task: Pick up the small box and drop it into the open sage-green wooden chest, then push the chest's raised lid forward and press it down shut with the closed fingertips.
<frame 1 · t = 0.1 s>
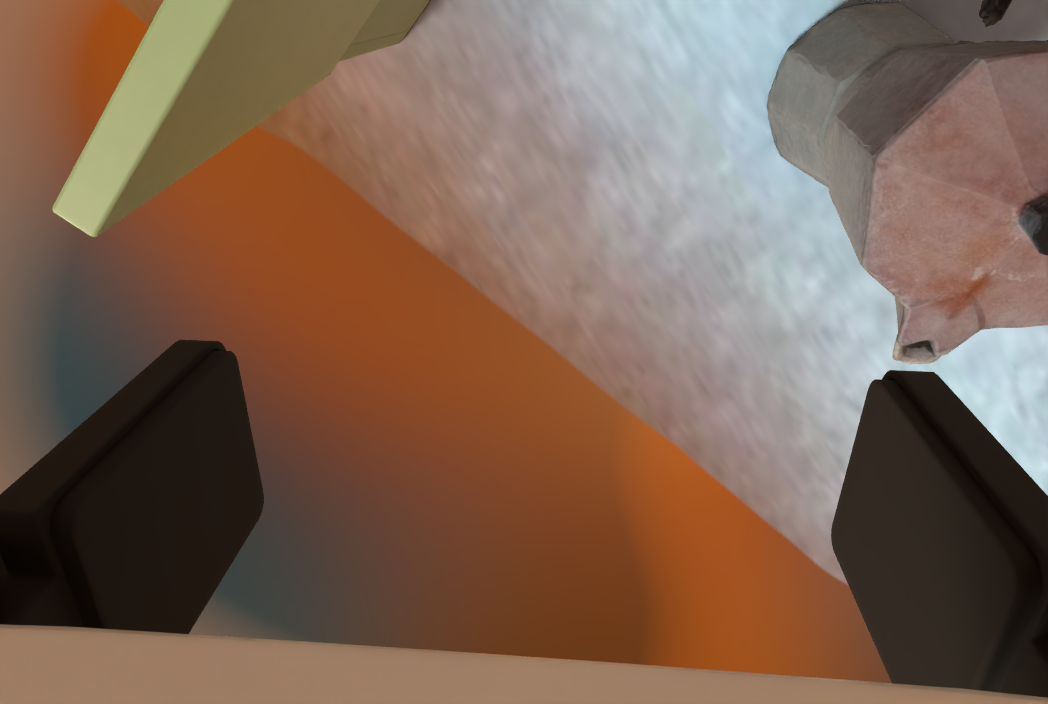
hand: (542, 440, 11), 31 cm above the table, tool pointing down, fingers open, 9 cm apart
moka pot: (851, 88, 37), on the table
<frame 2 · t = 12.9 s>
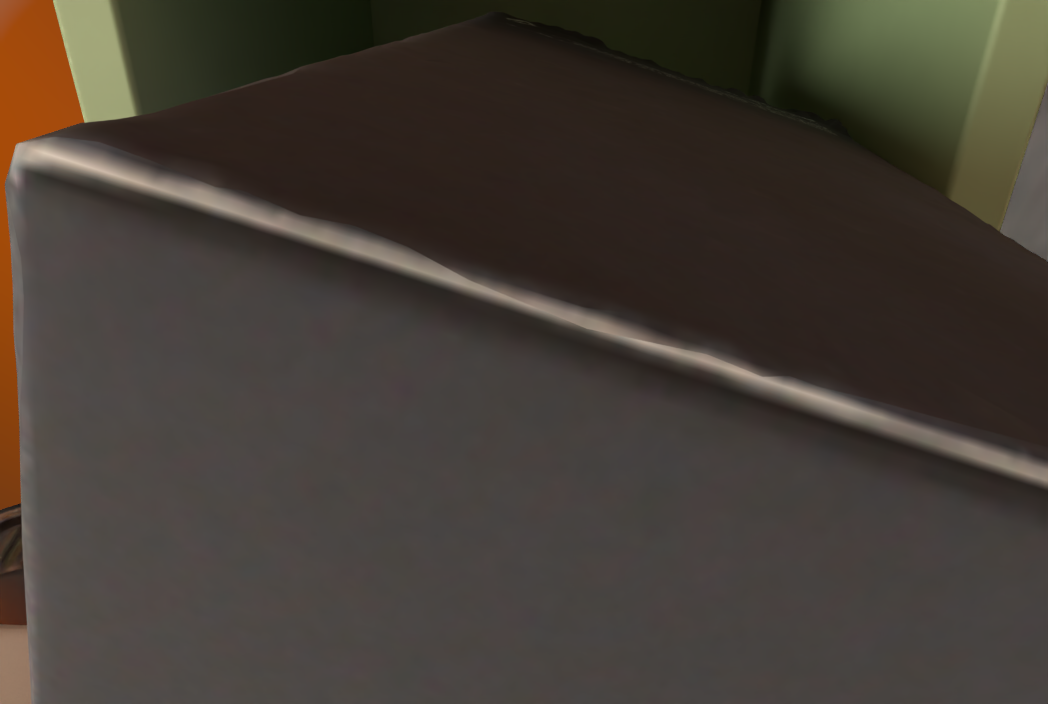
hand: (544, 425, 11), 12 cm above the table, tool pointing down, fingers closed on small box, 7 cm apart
small box: (555, 336, 14), point 9 cm above the table, touching gripper
chest: (556, 213, 22), on the table
when the fingers open (12 cm above the table, at t = 13.1 s): small box drops 8 cm, resting on chest.
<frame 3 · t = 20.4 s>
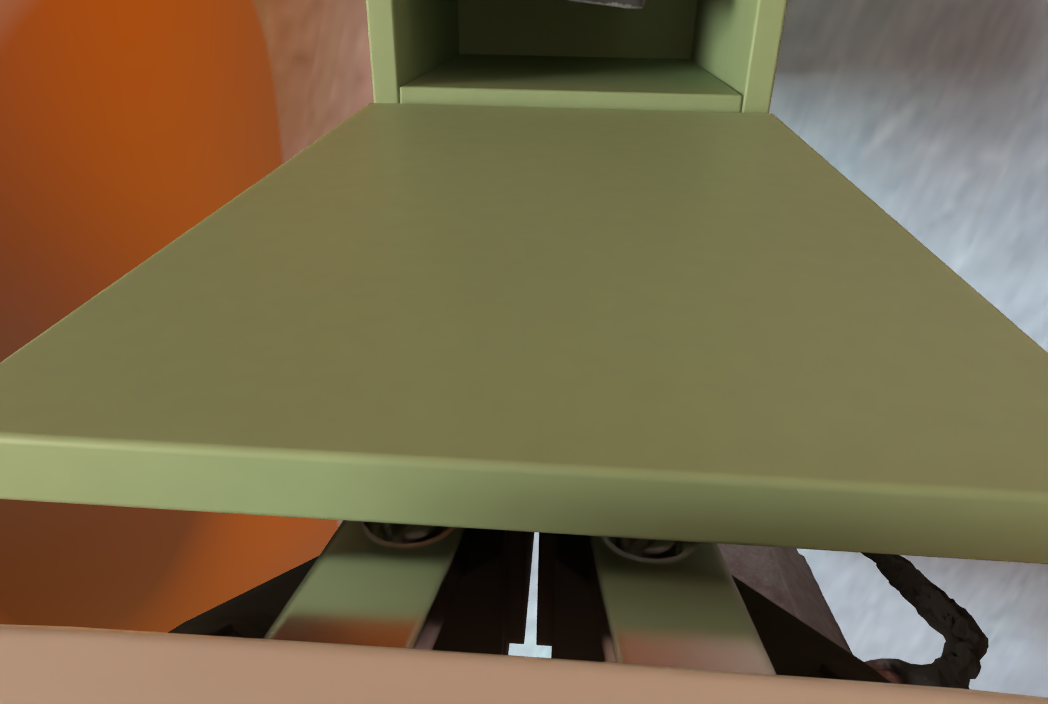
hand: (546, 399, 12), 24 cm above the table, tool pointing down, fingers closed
lid: (557, 211, 14), point 21 cm above the table, hinge at 92.2°
moka pot: (699, 438, 40), on the table
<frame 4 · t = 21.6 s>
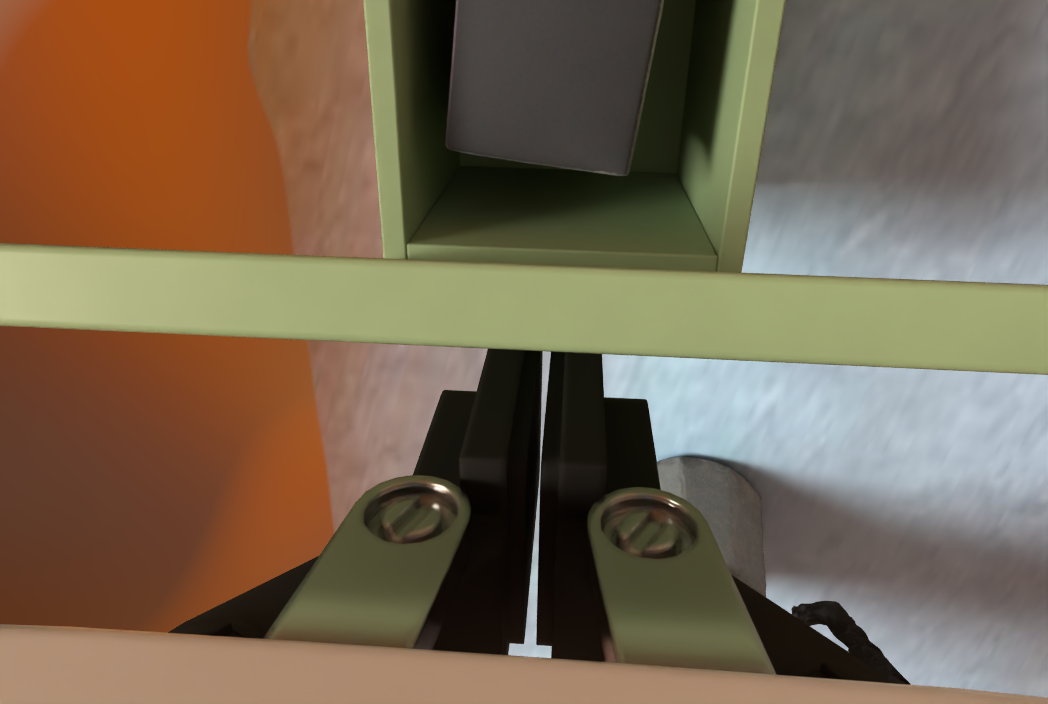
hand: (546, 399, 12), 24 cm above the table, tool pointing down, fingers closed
lid: (553, 285, 15), point 20 cm above the table, hinge at 69.8°
chest: (574, 0, 31), on the table
moka pot: (687, 507, 43), on the table
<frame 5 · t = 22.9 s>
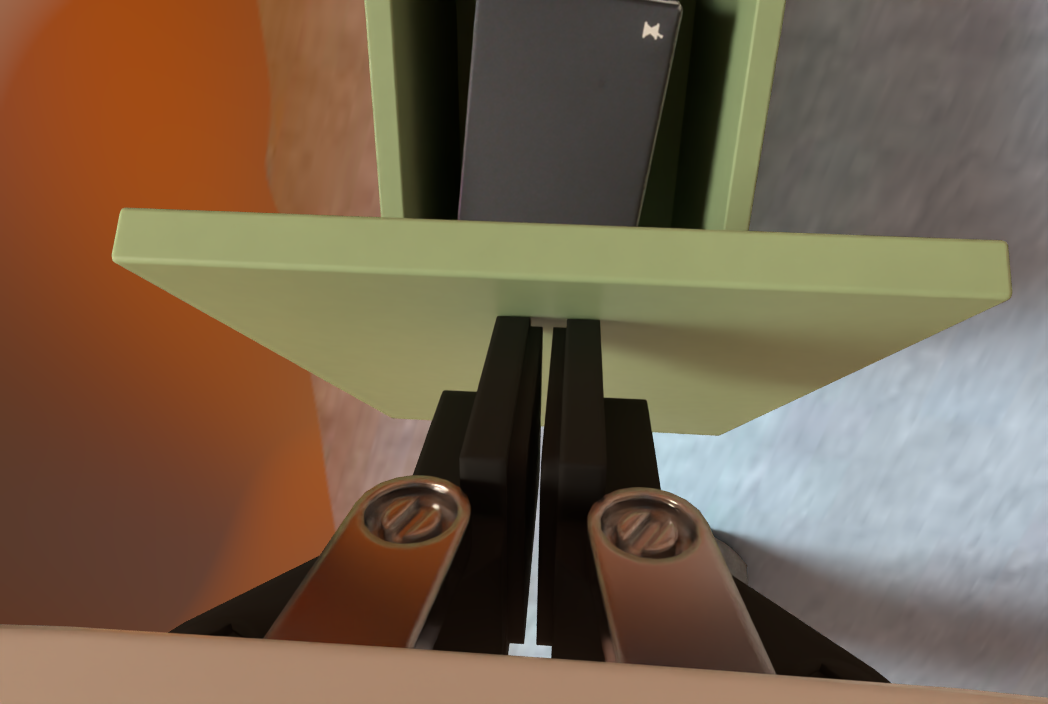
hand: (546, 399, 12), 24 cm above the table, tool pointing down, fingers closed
lid: (551, 371, 17), point 19 cm above the table, hinge at 50.4°, touching gripper
small box: (563, 112, 32), point 1 cm above the table, touching chest
chest: (569, 124, 33), on the table
moka pot: (677, 571, 45), on the table
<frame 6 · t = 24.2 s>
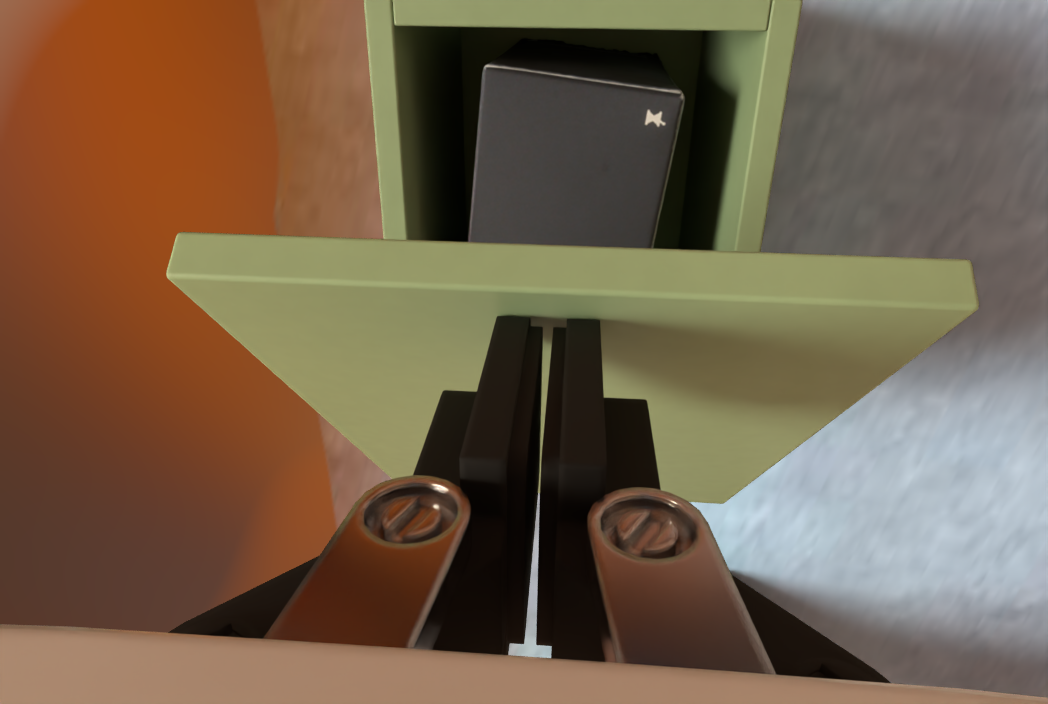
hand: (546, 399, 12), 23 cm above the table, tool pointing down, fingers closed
lid: (558, 421, 18), point 18 cm above the table, hinge at 41.7°, touching gripper
small box: (568, 168, 32), point 1 cm above the table, touching chest
chest: (574, 179, 33), on the table
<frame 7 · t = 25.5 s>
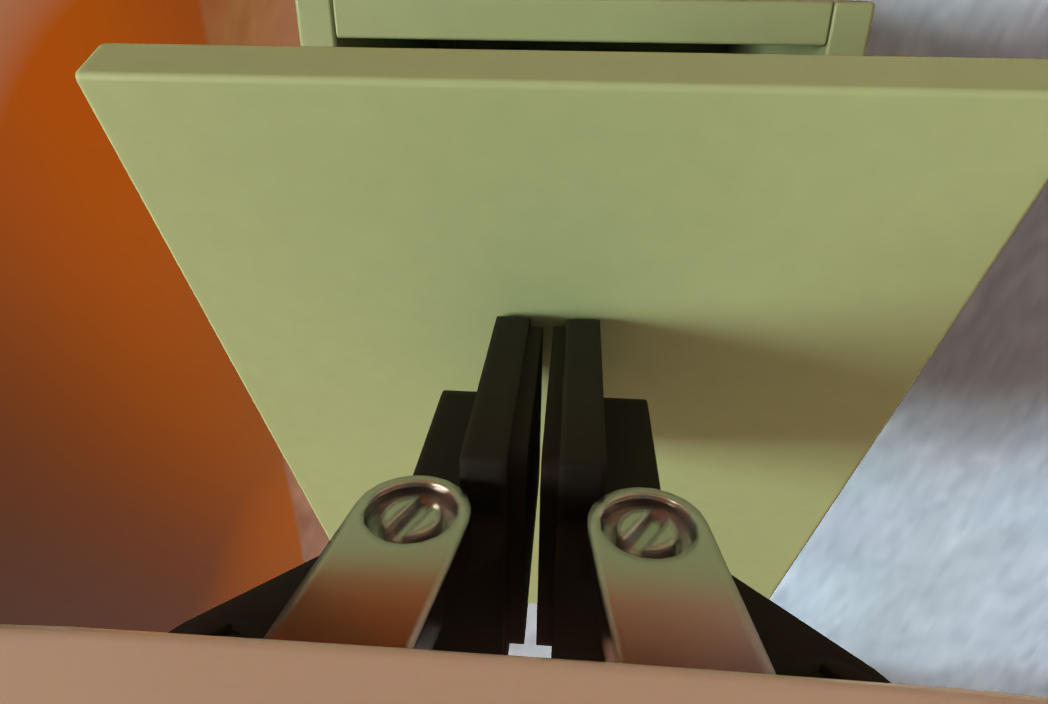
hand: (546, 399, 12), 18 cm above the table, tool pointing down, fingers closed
lid: (557, 443, 15), point 16 cm above the table, hinge at 23.7°, touching gripper
chest: (573, 209, 29), on the table
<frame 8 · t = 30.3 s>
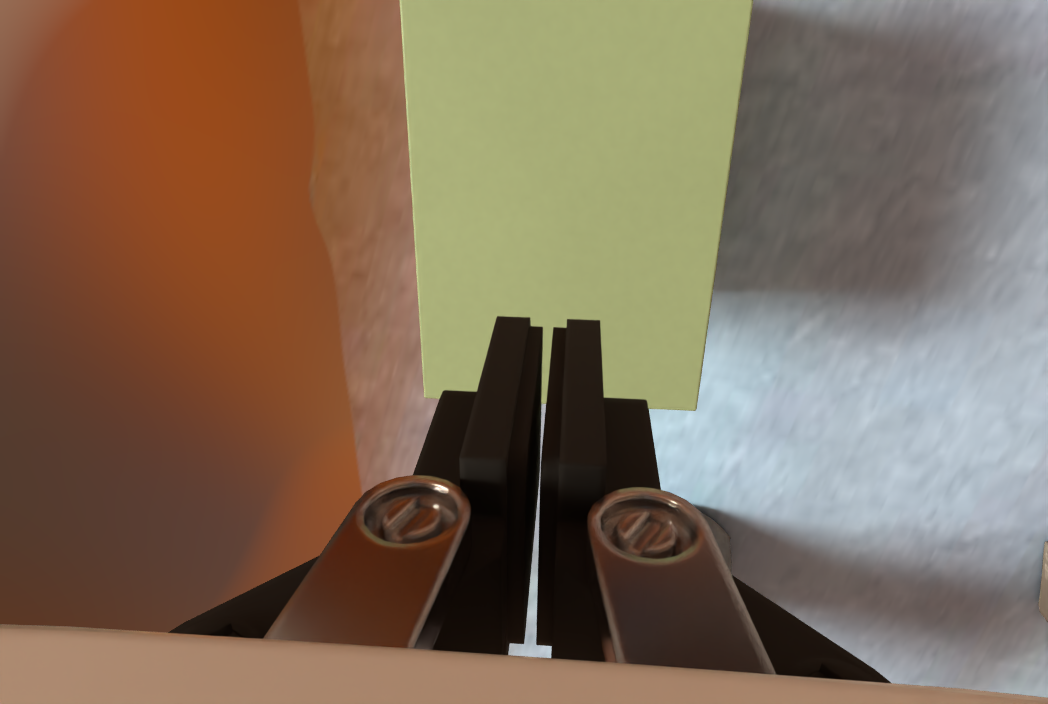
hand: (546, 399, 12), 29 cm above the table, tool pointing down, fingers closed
lid: (565, 213, 27), point 13 cm above the table, hinge at -0.2°, touching chest
moka pot: (669, 544, 51), on the table
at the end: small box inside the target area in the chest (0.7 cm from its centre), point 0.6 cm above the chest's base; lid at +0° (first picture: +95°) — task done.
